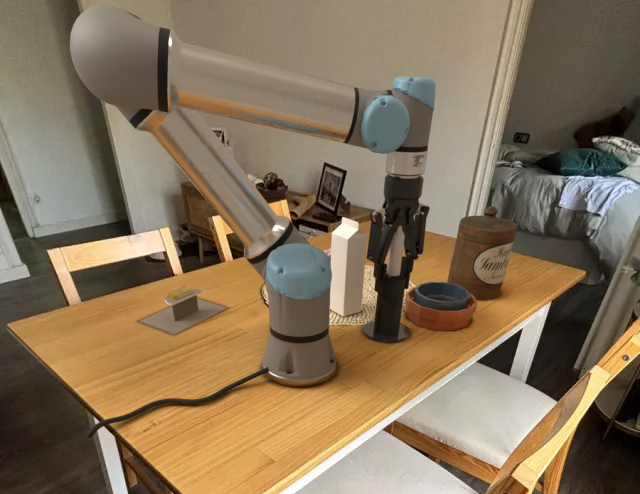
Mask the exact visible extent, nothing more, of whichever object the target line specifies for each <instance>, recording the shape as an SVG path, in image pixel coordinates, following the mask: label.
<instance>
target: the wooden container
mask: <svg viewBox="0 0 640 494" xmlns="http://www.w3.org/2000/svg"><path fill="white" fill-rule="evenodd" d="M498 212H499V210H498V208H496V206H491V205H490V206H488V207H485V208H484V210H483V213H484V215H469V216H465V217H461V219H460V221H459V224H458V228H457V234H456V238H455V244H454V247H453V248H454V249H453V252H452V257H451V261H450V266H449V271H448V276H447V282H446V283H451V284H456V285H459V286H461V287H463V288H465V289H467V290H468V292H469V293H470V294H472V295H473V296H474V297H475V299H476V300H481V301H483V300H491V299H495V298H497V297H498V296H500V294H501V291H502V287H503V283H504V281H505V276H506V273H507V270H508V265H509V261H510V257H511V254H512V253H511V252H512V249H513V245H514V240H515V237H516V234H517V231H518V224H517V223H516V222H514V221H512V220H509V219H507V218H503V217H498V216H496V215H498Z"/></svg>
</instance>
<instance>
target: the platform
mask: <svg viewBox="0 0 640 494" xmlns="http://www.w3.org/2000/svg"><path fill="white" fill-rule="evenodd" d="M167 294H168V296H165V297H164V298H163V299H164V302H165V303H166V304H167V306H170V307H167V308H165V309H163V310H160V311H158V312H155V313H153V314H152V315H149V316H148V317H145V318H142V319H141V320H139V322H141V323H142V324H146V325H149V326H151V327H154V328H156V329H159V330H161V331H164V332H167V333H169V334H171V335H176V334H179V333H180V332H182V331H184V330H186V329H188V328H191V327H193V326H195V325H197V324H199V323H201V322H202V321H204V320H206V319H208V318H211V317H212V316H215V315H216V314H218V313H220V312H223V311H224V310H227V307H225V306H222V305H219V304H215V303H212V302H209V301H206V300H203V299H201V298H198V296H197V295H201V294H202V290H201V289H199V288H192V287H191V285H189V286H188V287H187V286H186V284H184V285H181V286H179V287H176V288H174V289H172V290H170V291H167Z"/></svg>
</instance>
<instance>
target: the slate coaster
mask: <svg viewBox="0 0 640 494" xmlns="http://www.w3.org/2000/svg"><path fill="white" fill-rule="evenodd" d="M374 322H375V319H374V320H371V321H368V322H366V323H365V324H364V325H363V327H362V333H363V335H364V336H365V337H366V338H368V339H370V340H372V341H375V342H379V343H385V344H386V343H387V344H389V343H390V344H393V343H400V342H404V341H405V340H406V339H408V338H409V337H410V333H411V331H410V329H409V327H408V326H407V325H405V324H404V323H402V322H400V327H399V330H398V331H397V332H396V333H395V334H394V335H386V334H383V333H380V332H375V331H374Z"/></svg>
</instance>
